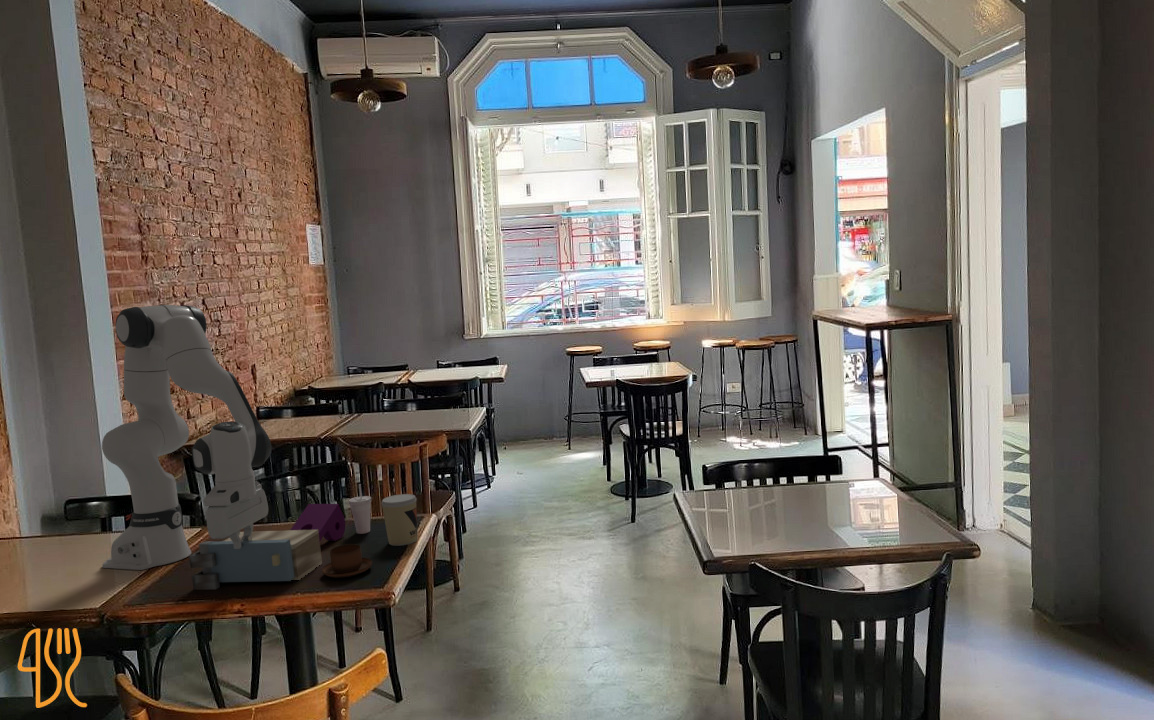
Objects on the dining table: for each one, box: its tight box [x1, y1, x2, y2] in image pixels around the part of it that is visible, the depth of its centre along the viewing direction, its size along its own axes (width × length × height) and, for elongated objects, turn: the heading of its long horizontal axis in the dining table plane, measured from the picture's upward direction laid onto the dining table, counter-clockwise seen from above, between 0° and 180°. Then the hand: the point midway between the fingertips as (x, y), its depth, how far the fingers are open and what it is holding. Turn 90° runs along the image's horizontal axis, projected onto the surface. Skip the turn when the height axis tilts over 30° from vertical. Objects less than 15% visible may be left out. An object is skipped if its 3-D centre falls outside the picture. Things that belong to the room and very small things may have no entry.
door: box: [198, 539, 295, 583], centre depth 206 cm, size 23×4×10 cm, turn 79°
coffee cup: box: [381, 493, 418, 547], centre depth 232 cm, size 9×9×12 cm
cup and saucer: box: [321, 543, 373, 579], centre depth 210 cm, size 12×12×6 cm
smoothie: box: [348, 483, 372, 535], centre depth 244 cm, size 6×6×14 cm
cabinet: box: [188, 529, 323, 591], centre depth 212 cm, size 25×17×9 cm
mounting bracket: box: [290, 503, 346, 542], centre depth 236 cm, size 10×9×19 cm
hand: (243, 545), depth 206 cm, fingers closed on door, 2 cm apart
